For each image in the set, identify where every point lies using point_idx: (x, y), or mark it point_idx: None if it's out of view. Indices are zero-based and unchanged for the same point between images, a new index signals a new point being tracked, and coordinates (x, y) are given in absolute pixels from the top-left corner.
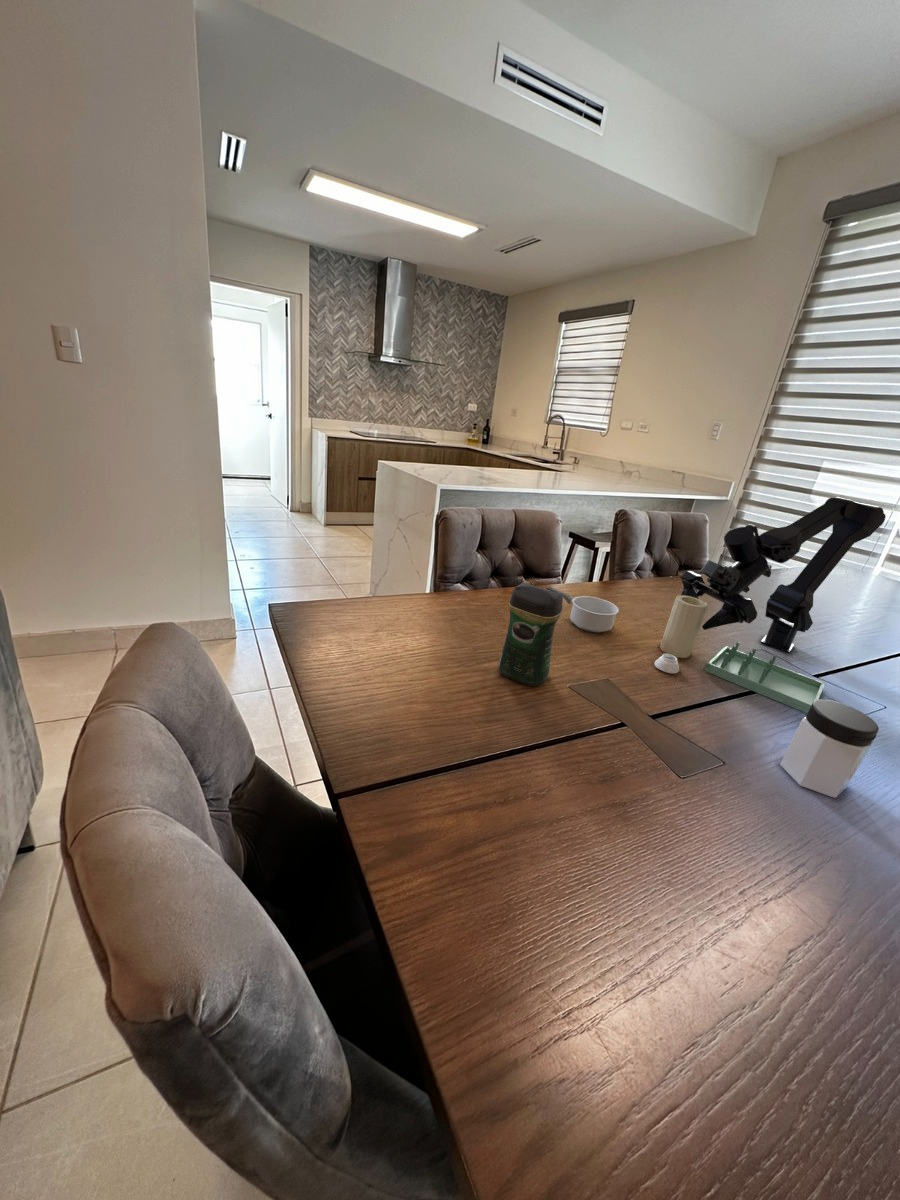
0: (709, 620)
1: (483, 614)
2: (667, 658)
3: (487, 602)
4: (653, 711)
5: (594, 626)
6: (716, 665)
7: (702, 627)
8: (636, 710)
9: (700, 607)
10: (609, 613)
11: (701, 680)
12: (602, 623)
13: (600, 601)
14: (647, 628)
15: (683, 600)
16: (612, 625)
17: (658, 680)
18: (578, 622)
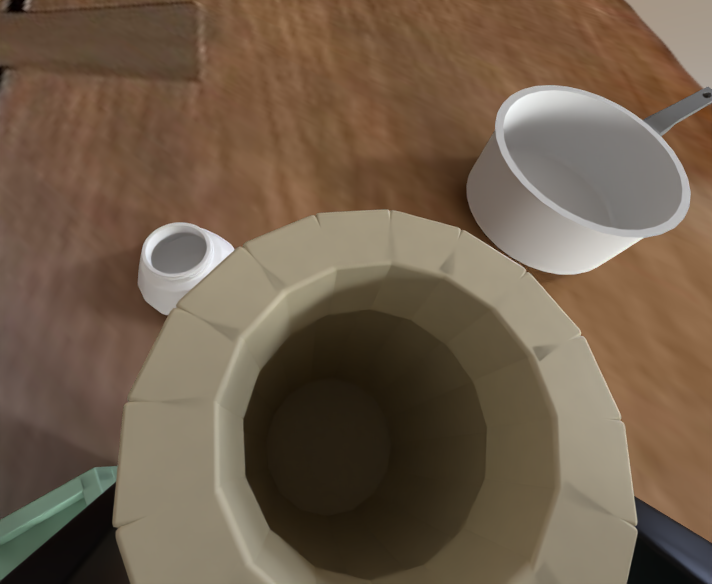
0: (75, 545)
1: (529, 16)
2: None
3: (603, 46)
4: (12, 86)
5: (476, 163)
6: None
7: None
8: (40, 57)
9: (138, 377)
10: (595, 256)
11: (62, 372)
12: (481, 170)
13: (666, 218)
14: None
15: (514, 407)
16: (502, 236)
17: (137, 199)
18: (505, 141)
